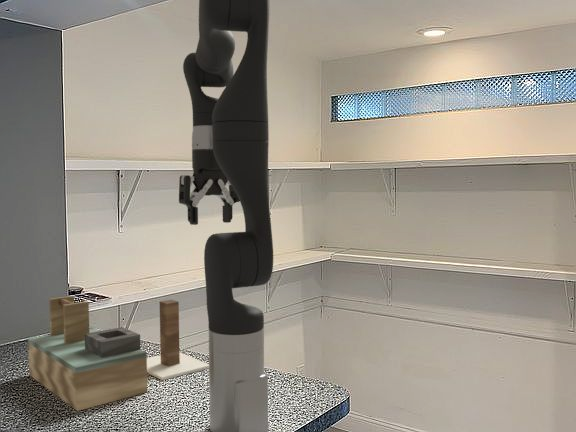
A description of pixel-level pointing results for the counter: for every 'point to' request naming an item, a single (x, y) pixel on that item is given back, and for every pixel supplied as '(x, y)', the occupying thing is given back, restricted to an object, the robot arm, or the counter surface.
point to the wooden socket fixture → (86, 358)
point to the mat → (174, 367)
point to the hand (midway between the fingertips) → (210, 223)
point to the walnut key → (169, 332)
